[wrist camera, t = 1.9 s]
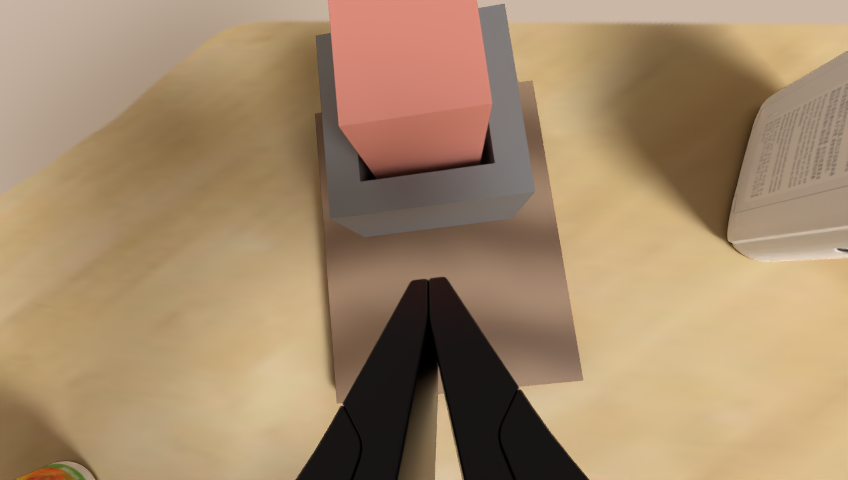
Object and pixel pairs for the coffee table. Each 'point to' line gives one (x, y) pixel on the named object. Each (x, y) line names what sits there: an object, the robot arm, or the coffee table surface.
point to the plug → (411, 83)
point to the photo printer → (796, 172)
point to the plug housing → (441, 190)
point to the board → (460, 278)
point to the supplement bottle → (59, 472)
